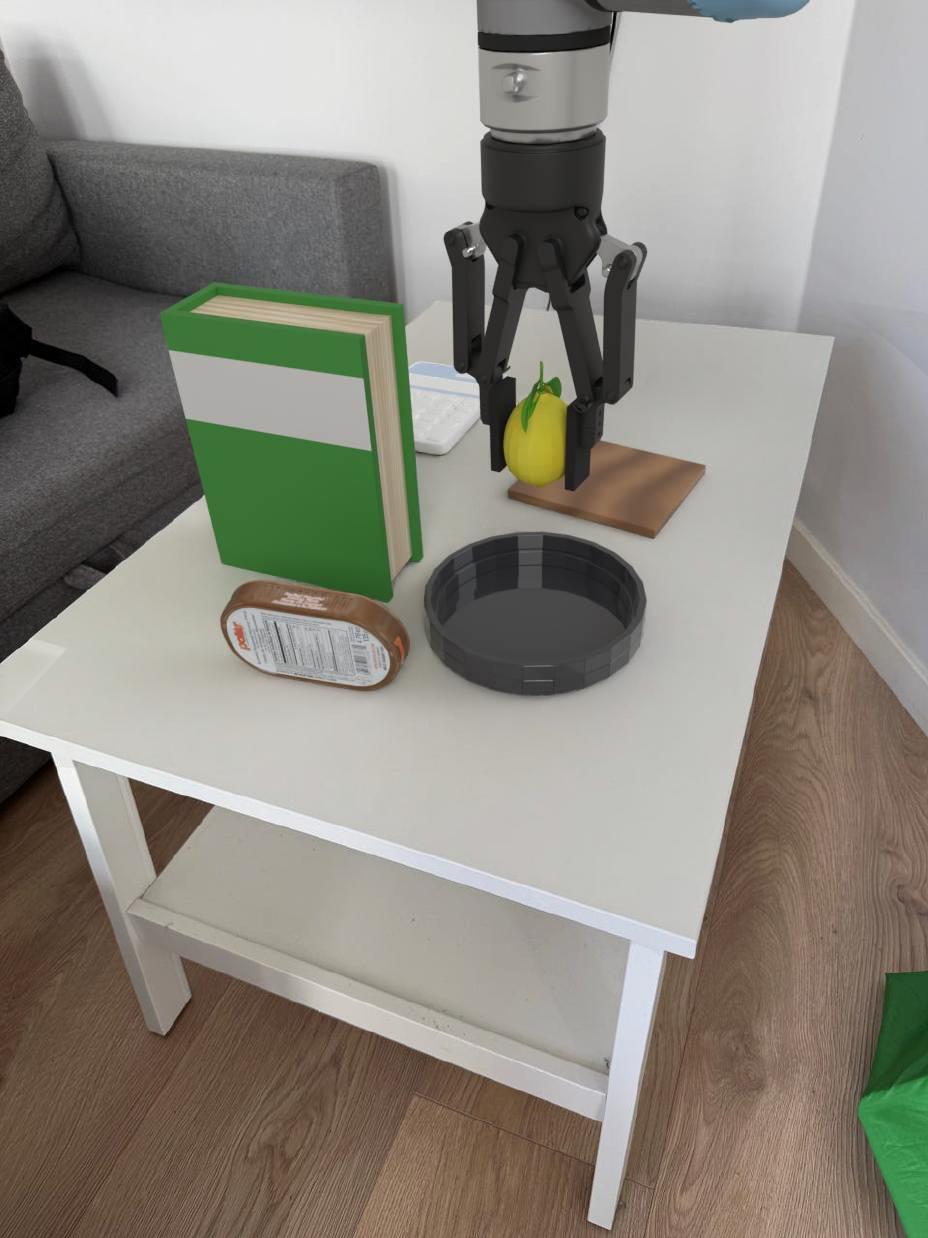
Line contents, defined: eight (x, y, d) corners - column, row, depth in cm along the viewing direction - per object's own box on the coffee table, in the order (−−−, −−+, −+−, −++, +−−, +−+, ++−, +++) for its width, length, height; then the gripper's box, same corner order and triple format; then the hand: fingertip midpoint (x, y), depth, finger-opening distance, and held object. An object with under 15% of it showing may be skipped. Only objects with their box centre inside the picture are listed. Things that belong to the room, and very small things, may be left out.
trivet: (705, 473, 96) (706, 465, 96) (654, 539, 87) (655, 530, 86) (568, 440, 103) (568, 432, 102) (507, 497, 94) (507, 489, 93)
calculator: (339, 439, 105) (337, 424, 104) (416, 370, 119) (415, 356, 118) (444, 458, 101) (443, 443, 100) (511, 385, 115) (511, 371, 114)
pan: (674, 599, 80) (679, 566, 78) (584, 730, 68) (587, 696, 66) (493, 543, 87) (493, 512, 85) (384, 652, 76) (380, 619, 73)
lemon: (525, 518, 66) (526, 389, 60) (483, 485, 70) (478, 360, 64) (599, 491, 69) (607, 364, 63) (554, 460, 73) (557, 338, 67)
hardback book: (423, 557, 86) (403, 303, 71) (388, 602, 81) (358, 339, 66) (263, 523, 92) (214, 282, 77) (221, 563, 87) (159, 313, 71)
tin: (414, 678, 73) (406, 594, 68) (402, 705, 71) (392, 620, 65) (244, 650, 76) (223, 568, 71) (226, 675, 74) (204, 592, 69)
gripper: (379, 131, 56) (410, 467, 70) (667, 153, 48) (635, 527, 62) (444, 108, 61) (460, 427, 75) (715, 125, 53) (675, 478, 67)
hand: (539, 472), depth 69 cm, fingers closed on lemon, 5 cm apart
